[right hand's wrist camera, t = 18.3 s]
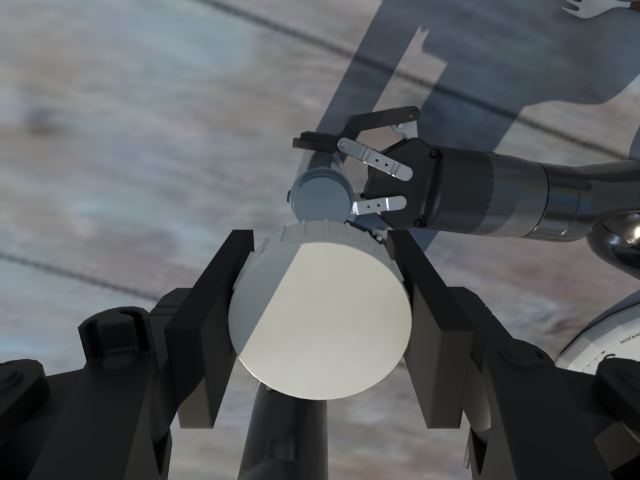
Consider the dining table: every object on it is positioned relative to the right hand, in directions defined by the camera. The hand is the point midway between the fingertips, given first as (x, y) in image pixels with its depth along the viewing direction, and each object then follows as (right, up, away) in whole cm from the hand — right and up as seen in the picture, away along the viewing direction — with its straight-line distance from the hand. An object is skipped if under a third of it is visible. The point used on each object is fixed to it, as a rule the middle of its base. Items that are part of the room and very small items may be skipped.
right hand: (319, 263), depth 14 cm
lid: (0, -1, -4) cm, 4 cm away
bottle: (0, +9, +25) cm, 27 cm away
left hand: (-3, +7, +19) cm, 20 cm away
